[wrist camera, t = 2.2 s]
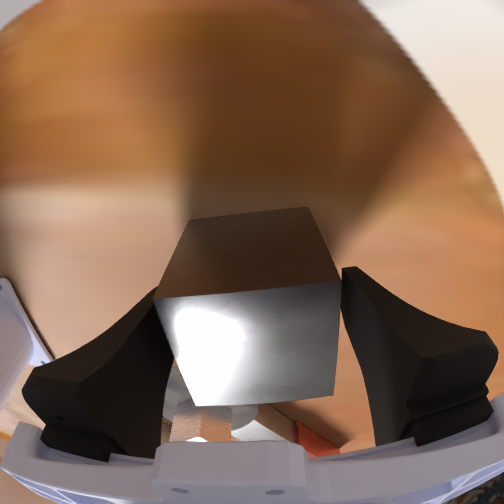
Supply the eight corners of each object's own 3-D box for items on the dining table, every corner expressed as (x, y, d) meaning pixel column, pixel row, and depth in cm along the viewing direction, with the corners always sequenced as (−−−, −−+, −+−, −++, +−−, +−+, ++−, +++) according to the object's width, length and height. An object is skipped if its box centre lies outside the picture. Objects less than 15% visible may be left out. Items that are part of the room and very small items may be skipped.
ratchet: (141, 366, 19) (119, 434, 14) (212, 327, 17) (200, 408, 12) (297, 463, 26) (300, 509, 21) (354, 443, 24) (363, 491, 19)
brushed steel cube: (210, 314, 16) (196, 406, 11) (188, 220, 14) (152, 299, 9) (311, 304, 16) (333, 395, 11) (308, 206, 14) (341, 280, 8)
